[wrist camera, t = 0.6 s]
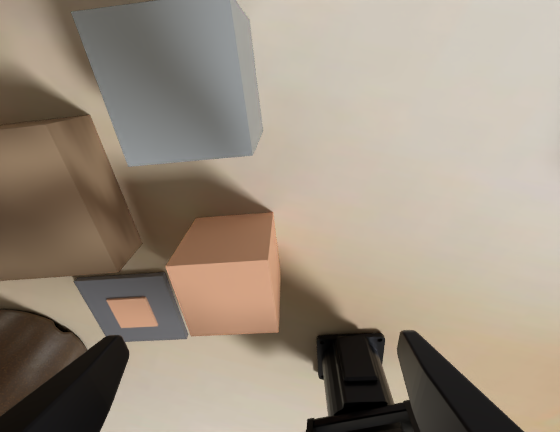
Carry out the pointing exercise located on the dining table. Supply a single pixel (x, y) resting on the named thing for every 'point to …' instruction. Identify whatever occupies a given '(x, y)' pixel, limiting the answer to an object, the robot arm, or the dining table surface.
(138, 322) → the card
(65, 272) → the tan block
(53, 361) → the plant pot
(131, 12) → the slate grey cube
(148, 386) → the dining table surface
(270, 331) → the terracotta cube
